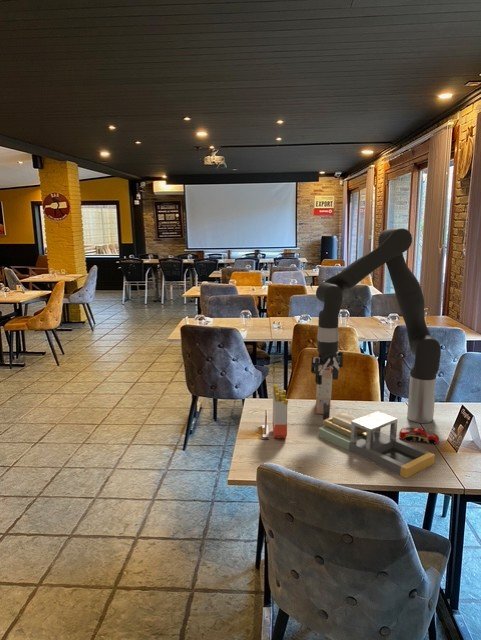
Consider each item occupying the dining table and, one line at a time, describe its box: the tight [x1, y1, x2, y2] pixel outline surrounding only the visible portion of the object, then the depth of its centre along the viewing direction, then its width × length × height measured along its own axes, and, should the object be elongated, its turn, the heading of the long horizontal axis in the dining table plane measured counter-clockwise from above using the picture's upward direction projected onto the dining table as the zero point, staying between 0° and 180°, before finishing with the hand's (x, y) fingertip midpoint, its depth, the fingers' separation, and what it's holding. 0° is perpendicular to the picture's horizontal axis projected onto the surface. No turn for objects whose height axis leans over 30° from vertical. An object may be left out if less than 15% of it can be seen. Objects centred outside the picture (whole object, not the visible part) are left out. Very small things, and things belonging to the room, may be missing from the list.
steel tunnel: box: [350, 410, 399, 451], centre depth 161 cm, size 14×8×8 cm, turn 127°
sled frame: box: [322, 403, 374, 438], centre depth 170 cm, size 10×22×6 cm, turn 37°
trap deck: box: [318, 425, 436, 479], centre depth 162 cm, size 15×36×3 cm, turn 37°
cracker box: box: [315, 365, 333, 415], centre depth 195 cm, size 14×6×21 cm, turn 168°
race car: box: [398, 427, 440, 445], centre depth 169 cm, size 13×5×4 cm, turn 71°
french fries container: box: [272, 383, 289, 439], centre depth 171 cm, size 5×11×18 cm, turn 1°
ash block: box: [332, 412, 360, 431], centre depth 169 cm, size 6×10×4 cm, turn 37°
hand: (326, 381), depth 176 cm, fingers open, 8 cm apart
